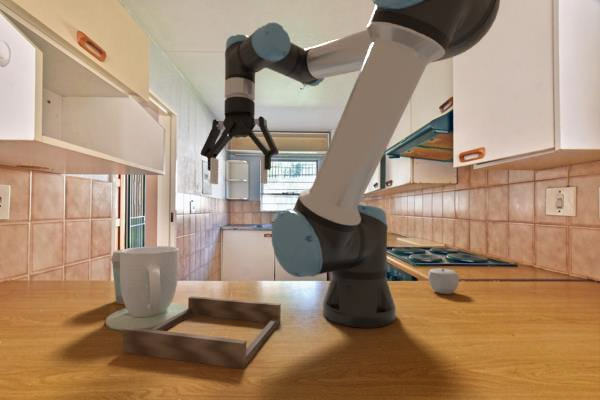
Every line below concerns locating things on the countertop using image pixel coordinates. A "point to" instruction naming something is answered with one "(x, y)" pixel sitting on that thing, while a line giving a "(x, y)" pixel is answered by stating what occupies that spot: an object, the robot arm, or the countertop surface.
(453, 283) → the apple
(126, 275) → the mug
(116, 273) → the coffee cup
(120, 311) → the trivet
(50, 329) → the countertop surface
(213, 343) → the frame
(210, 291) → the countertop surface
